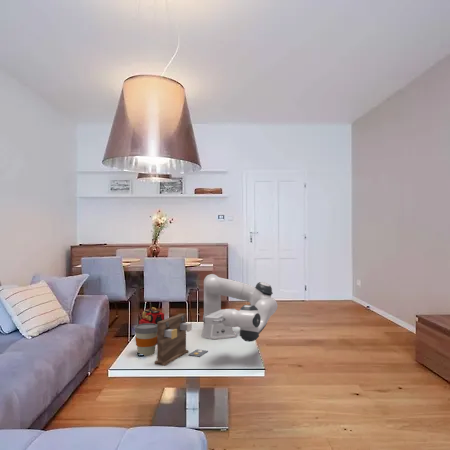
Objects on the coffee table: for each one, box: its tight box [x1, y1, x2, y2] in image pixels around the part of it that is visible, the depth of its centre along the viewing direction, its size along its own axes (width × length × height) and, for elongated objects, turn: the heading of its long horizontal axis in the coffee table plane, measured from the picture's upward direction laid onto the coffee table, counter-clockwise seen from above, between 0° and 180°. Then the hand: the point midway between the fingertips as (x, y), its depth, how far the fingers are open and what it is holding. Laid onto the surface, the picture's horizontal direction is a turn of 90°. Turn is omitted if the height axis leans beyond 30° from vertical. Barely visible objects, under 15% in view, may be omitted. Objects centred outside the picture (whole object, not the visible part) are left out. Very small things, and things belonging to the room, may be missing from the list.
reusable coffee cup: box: [134, 323, 157, 357], centre depth 199 cm, size 13×12×15 cm
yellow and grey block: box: [164, 329, 177, 339], centre depth 184 cm, size 7×4×4 cm, turn 66°
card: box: [187, 348, 209, 358], centre depth 198 cm, size 7×10×1 cm
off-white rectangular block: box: [180, 322, 193, 333], centre depth 197 cm, size 7×4×4 cm, turn 66°
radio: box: [138, 306, 165, 325], centre depth 221 cm, size 16×10×20 cm, turn 41°
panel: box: [154, 312, 189, 367], centre depth 191 cm, size 6×23×21 cm, turn 156°
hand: (204, 315), depth 192 cm, fingers closed
